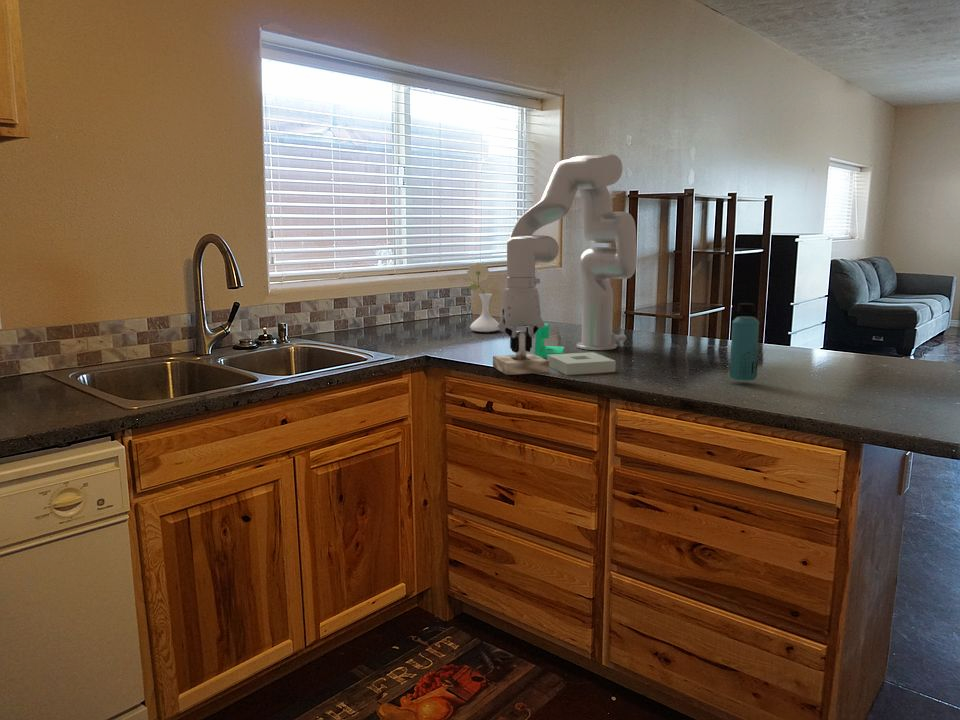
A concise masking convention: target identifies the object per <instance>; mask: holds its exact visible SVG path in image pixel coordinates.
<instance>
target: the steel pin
mask: <svg viewBox="0 0 960 720" xmlns="http://www.w3.org/2000/svg"><path fill="white" fill-rule="evenodd" d="M516 338H518V352H517V353H515V355H516V360H527V354H528V353H527V352H528V351H527V331H526V330H516Z"/></svg>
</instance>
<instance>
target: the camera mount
mask: <svg viewBox="0 0 960 720" xmlns="http://www.w3.org/2000/svg"><path fill="white" fill-rule="evenodd" d="M549 337H550V324H549V323H544V326H543V327H542V328H540V329H538V330H537V331H536V333H535V347H534V354H535V355H537V356H540V357H542V358H544V359H546V360H547V355H553V354H565V346H562V345H561V346H559V345H545V339H549Z"/></svg>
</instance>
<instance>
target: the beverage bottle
mask: <svg viewBox="0 0 960 720" xmlns="http://www.w3.org/2000/svg"><path fill="white" fill-rule="evenodd" d="M736 311H737V312H738V313H747V314H750V313H756V304H755V303H751V302H741V303H740V302H739V303H738V304H737V309H736ZM731 323H732V325H731V327H732V328H731V340H730V341H731V342H730V343H731V344H730V357H729V361H730V362H729V373H728V374H729V377H730V379H733V380H737V381H755V380H756V378H757V376H758V362H759V361H758V355H759V339H760V338H759V329H760V328H759V326H760V321H759V320H758V319H757V318H756V317H755V316H745V315H744V316H736V317H735V318H734V319H733V320H732V322H731Z"/></svg>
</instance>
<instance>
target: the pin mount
mask: <svg viewBox="0 0 960 720" xmlns="http://www.w3.org/2000/svg"><path fill="white" fill-rule="evenodd" d="M492 367H493V368H494V369H496V370H498V371H499V372H501V373H502V374H505V375H507V376H509V375H526V374H527V375H528V374H539V373H541V374H542V373H550V367H549V361H548V360H547V359H544V358H542V357H540V356H537V355H535V353H527V360H516V354H505V355H504V354H503V355H493V356H492Z"/></svg>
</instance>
